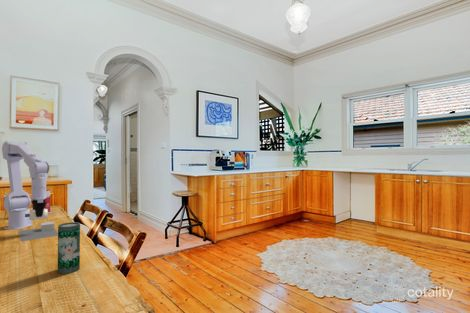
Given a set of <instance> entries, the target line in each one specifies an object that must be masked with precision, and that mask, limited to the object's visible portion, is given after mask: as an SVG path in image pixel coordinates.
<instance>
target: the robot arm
mask: <svg viewBox="0 0 470 313" xmlns="http://www.w3.org/2000/svg"><path fill="white" fill-rule="evenodd" d="M1 151H2V152H1V153H2V158H3V159H4V160H6V164H7V170H8V181H9V190H10V192H8V194H6V195H5V196H4V197H3V198H4V199H3V200H4V201H3V208H4V211H6V212H8V214H7V215H8V223H7V224H8V226H7V227H3V229H4V230H21V229H25V228H27V227H29V226H33V225H34V224H33V223H32V222H33V220H29V217H25V214H29V212H30V210H31V209H29V208H30V207H31V205H32V208H33V207H34V210H35V213H36V217H42V215H43V211H44V207H45V205H46V203H47V202H45V198H48V197H49V196H46V190H47V174H49V171H50V165H49V162H47V161H42V160H41V159H40V158H39V156H37V155H36V153H32V152H31V151H30V144H29V143H28V142H26V141H24V142H23V141H22V142H18V141H4V142H3V143H2V146H1ZM21 160H23V162H24V163H25V164H26V166H27V167H28V171H29V177H30V178H31V183H30V184H31V185H30V186H31V194H29V193H28V192H27V191H25V190H24V188H23V182H22V173H21V164H20V162H21ZM30 195H31V196H30ZM33 199H34V201H33Z"/></svg>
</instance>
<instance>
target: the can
mask: <svg viewBox="0 0 470 313" xmlns="http://www.w3.org/2000/svg"><path fill="white" fill-rule="evenodd" d="M57 233H58V236H57V273H58V274H60V275H68V274H72V273H75V272H78V270H81V269H80V267H81V264H80V262H81V259H80V258H81V223H80V222H74V221H73V222H71V221H70V222H65V223H60V224H58V225H57ZM61 273H62V274H61Z"/></svg>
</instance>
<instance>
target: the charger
mask: <svg viewBox="0 0 470 313" xmlns="http://www.w3.org/2000/svg"><path fill="white" fill-rule="evenodd" d="M40 228H41V231H48V230H54V228H55V222H54V221H47V222H41V223H40Z"/></svg>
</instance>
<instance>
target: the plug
mask: <svg viewBox="0 0 470 313" xmlns="http://www.w3.org/2000/svg"><path fill="white" fill-rule="evenodd" d="M29 210H30V212H29V214H25V217H29V220H32V221H34V220H35V221H36V220H44V219H47V218H48V216H49V215H51V214H53V211H50V212H48V209H44V211H43V215H42V217H36V213H35V210H33V209H29Z"/></svg>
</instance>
